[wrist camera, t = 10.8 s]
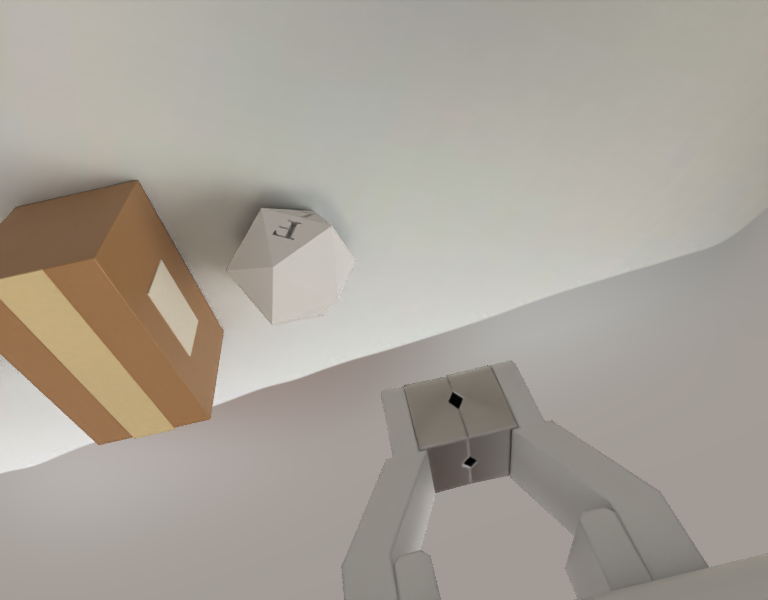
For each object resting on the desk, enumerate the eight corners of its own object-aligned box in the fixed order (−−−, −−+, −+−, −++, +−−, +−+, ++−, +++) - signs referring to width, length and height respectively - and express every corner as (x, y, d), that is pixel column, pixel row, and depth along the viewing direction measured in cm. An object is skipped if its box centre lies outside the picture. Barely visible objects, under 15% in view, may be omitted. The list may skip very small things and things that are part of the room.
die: (368, 225, 40) (350, 215, 30) (344, 325, 41) (319, 347, 31) (274, 202, 40) (225, 184, 30) (253, 301, 41) (199, 315, 31)
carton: (139, 178, 33) (94, 257, 25) (225, 332, 44) (212, 420, 36) (14, 206, 33) (-68, 294, 25) (131, 353, 44) (98, 447, 36)
